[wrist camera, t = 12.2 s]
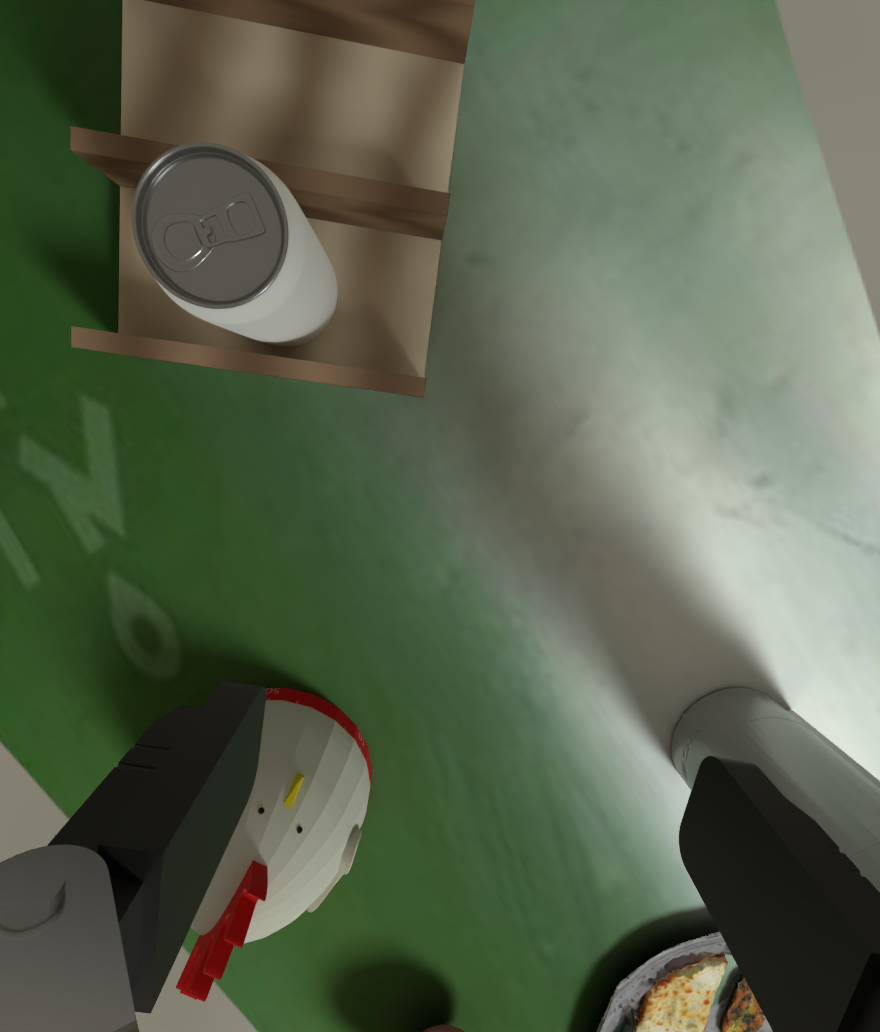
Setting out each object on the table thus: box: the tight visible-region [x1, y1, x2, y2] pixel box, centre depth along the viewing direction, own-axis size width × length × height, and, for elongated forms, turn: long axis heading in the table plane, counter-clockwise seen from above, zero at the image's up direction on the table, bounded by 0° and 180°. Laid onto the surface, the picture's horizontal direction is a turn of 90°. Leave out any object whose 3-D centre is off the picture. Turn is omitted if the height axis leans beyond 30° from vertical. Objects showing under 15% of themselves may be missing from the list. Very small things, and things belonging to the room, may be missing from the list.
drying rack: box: [71, 0, 475, 397], centre depth 29 cm, size 18×19×6 cm
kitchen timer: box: [176, 688, 372, 1001], centre depth 33 cm, size 14×14×15 cm
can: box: [132, 142, 338, 347], centre depth 26 cm, size 6×6×12 cm
